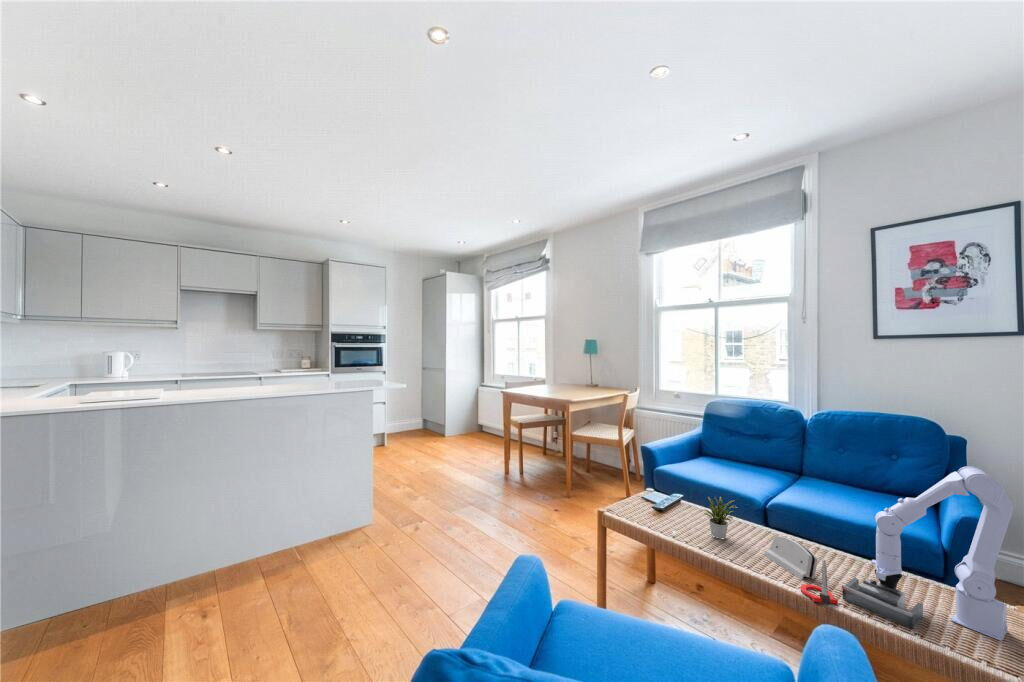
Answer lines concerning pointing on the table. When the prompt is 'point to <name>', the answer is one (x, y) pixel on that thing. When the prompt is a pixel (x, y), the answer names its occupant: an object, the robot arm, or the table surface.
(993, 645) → the table surface
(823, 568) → the red handled scissors
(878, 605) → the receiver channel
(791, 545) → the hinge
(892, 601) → the block
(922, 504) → the robot arm
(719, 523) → the house plant
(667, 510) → the table surface
